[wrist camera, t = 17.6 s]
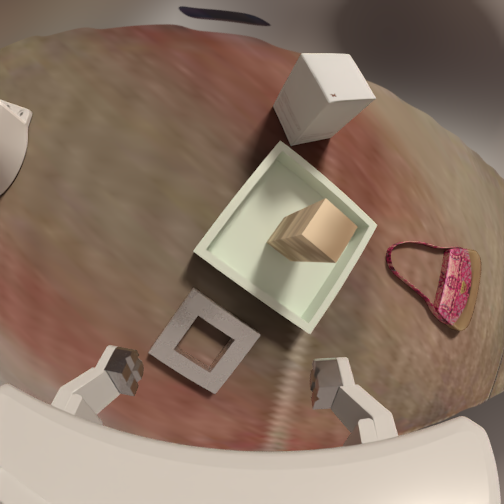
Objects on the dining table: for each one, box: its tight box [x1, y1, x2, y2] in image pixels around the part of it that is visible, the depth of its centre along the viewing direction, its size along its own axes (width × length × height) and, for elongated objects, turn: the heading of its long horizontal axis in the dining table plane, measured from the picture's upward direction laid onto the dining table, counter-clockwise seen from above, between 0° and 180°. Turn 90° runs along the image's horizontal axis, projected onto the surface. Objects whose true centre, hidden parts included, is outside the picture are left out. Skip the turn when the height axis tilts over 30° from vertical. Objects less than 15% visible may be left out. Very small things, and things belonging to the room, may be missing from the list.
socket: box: [149, 287, 260, 394], centre depth 32 cm, size 10×10×2 cm
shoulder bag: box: [386, 241, 481, 331], centre depth 40 cm, size 17×3×28 cm
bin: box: [193, 141, 377, 334], centre depth 33 cm, size 17×17×4 cm
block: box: [266, 198, 358, 263], centre depth 29 cm, size 4×4×12 cm
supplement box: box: [273, 53, 376, 146], centre depth 30 cm, size 7×7×13 cm
